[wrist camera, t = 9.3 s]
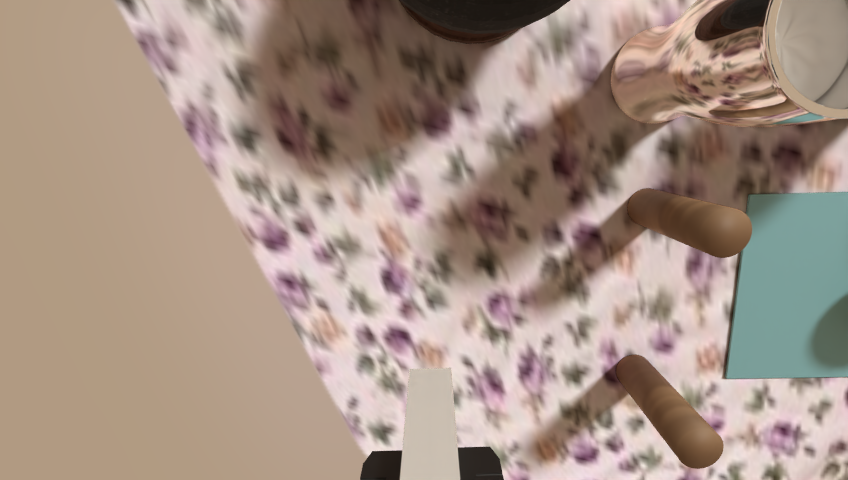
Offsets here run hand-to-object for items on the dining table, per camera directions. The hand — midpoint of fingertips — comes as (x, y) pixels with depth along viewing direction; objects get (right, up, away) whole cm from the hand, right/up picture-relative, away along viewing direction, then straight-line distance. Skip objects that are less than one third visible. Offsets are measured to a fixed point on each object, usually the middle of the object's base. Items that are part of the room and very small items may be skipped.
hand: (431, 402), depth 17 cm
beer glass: (+15, +17, +14) cm, 26 cm away
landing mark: (+30, +2, +16) cm, 34 cm away
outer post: (+16, -4, +18) cm, 24 cm away
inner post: (+15, +8, +15) cm, 23 cm away
